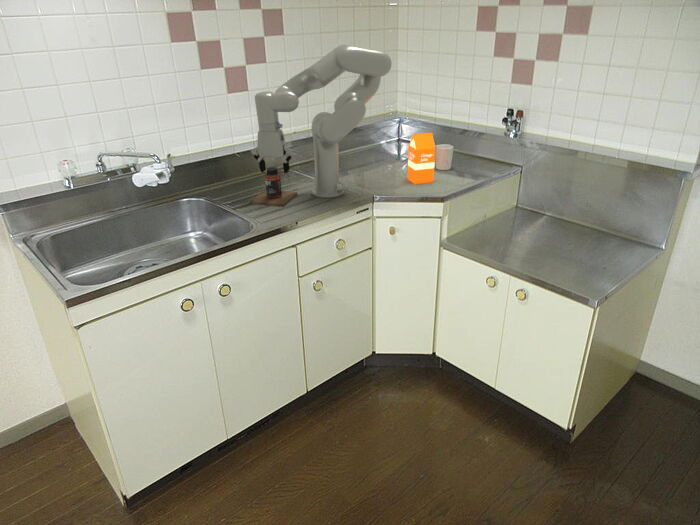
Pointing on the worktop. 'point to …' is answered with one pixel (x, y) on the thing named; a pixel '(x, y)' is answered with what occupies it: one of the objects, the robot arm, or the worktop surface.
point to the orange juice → (421, 158)
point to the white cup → (444, 156)
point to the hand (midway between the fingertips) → (274, 171)
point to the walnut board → (273, 199)
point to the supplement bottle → (273, 183)
